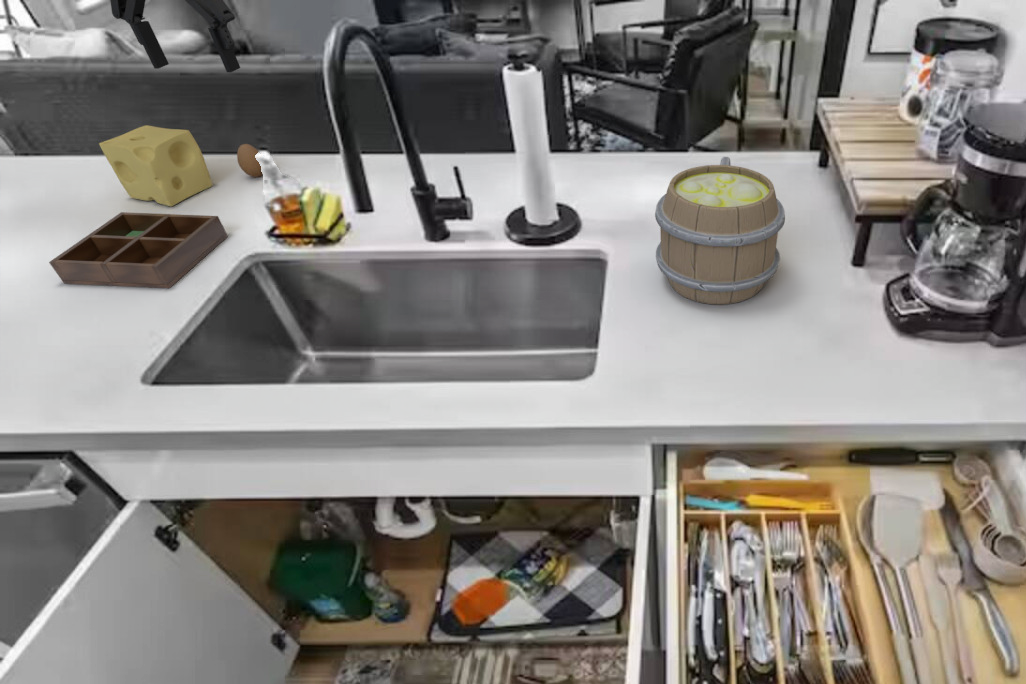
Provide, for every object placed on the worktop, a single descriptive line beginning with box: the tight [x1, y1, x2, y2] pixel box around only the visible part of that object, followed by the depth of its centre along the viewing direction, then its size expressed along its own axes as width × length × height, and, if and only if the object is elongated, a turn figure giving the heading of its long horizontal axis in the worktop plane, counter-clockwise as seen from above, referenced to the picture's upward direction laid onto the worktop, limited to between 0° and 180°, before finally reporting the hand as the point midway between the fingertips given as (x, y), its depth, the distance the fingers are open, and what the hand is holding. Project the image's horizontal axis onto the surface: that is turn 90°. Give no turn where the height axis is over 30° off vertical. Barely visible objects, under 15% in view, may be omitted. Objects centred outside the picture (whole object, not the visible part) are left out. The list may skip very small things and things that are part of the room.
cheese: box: [98, 124, 214, 207], centre depth 120 cm, size 10×11×10 cm
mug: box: [654, 156, 786, 306], centre depth 100 cm, size 19×25×15 cm
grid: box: [49, 211, 229, 289], centre depth 105 cm, size 16×16×4 cm
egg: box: [236, 143, 263, 178], centre depth 126 cm, size 4×4×6 cm
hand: (197, 68), depth 115 cm, fingers open, 13 cm apart
